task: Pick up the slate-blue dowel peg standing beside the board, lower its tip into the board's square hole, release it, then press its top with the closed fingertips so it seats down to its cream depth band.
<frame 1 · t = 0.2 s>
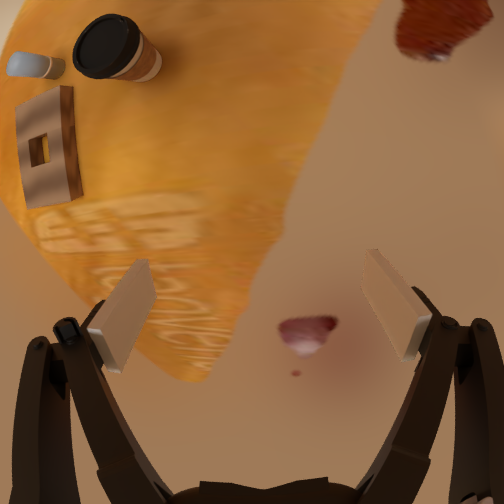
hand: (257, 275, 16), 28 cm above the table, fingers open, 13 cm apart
board: (51, 147, 37), on the table
peg: (57, 69, 31), on the table
coffee cup: (144, 65, 33), on the table
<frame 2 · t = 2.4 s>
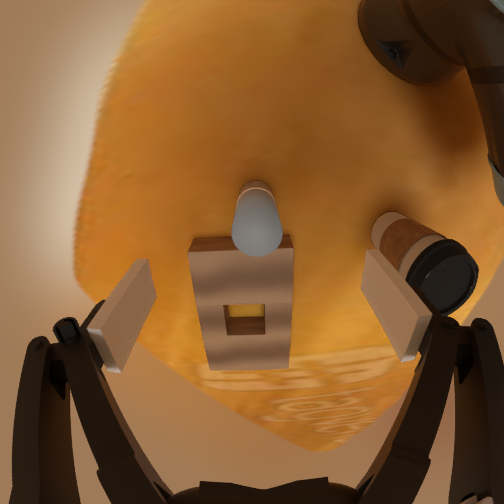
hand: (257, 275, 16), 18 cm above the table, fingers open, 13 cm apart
board: (245, 302, 39), on the table
peg: (255, 196, 33), on the table
coffee cup: (389, 231, 35), on the table
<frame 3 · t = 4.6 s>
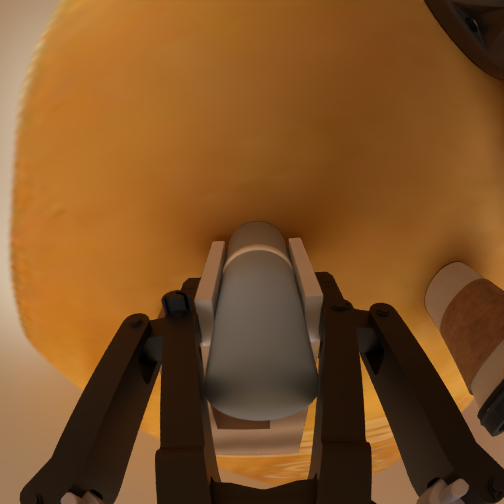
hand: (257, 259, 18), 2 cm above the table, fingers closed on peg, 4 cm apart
board: (242, 385, 26), on the table
peg: (257, 248, 20), on the table, touching gripper
coffee cup: (447, 288, 21), on the table
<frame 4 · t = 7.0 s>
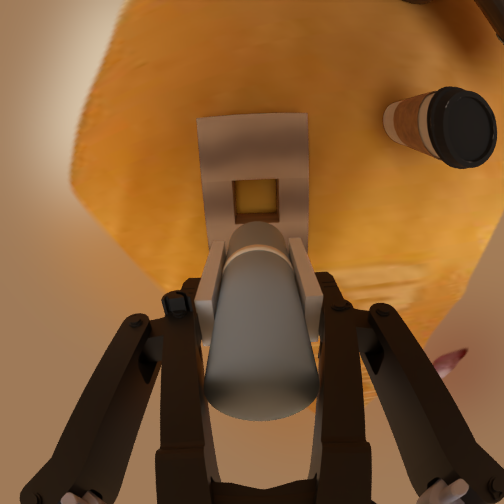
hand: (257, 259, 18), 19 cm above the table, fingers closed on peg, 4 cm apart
board: (255, 193, 35), on the table
peg: (257, 248, 20), point 17 cm above the table, touching gripper
coffee cup: (400, 122, 30), on the table
when the fingers open (5 cm above the table, at t = 9.7 s): peg drops 3 cm, resting in board.
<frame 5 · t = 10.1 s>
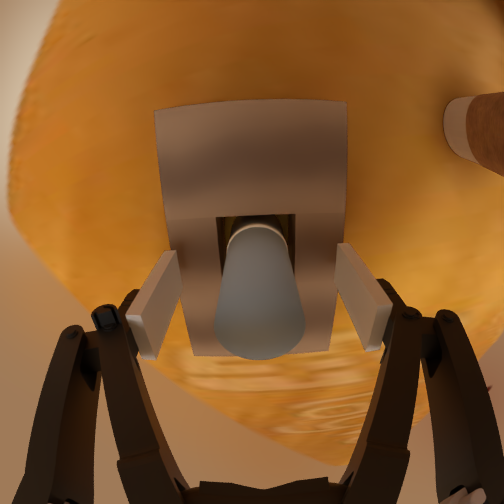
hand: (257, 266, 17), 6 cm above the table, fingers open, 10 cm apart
board: (256, 230, 23), on the table
peg: (256, 230, 23), resting in board
coffee cup: (462, 127, 18), on the table
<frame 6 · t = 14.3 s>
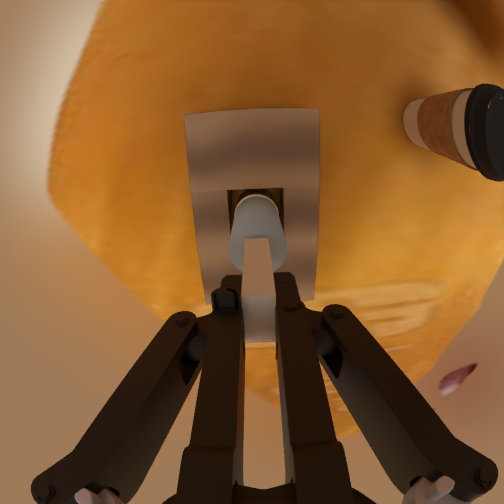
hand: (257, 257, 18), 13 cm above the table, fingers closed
board: (255, 204, 30), on the table
peg: (256, 204, 30), resting in board
coffee cup: (421, 123, 25), on the table
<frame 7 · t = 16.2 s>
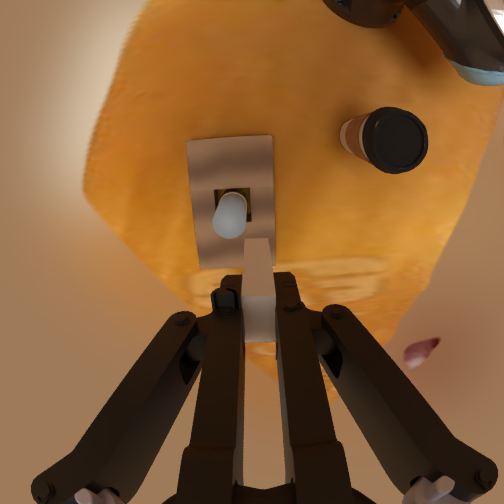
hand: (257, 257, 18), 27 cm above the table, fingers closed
board: (234, 199, 44), on the table
peg: (234, 199, 44), resting in board
coffee cup: (355, 136, 40), on the table
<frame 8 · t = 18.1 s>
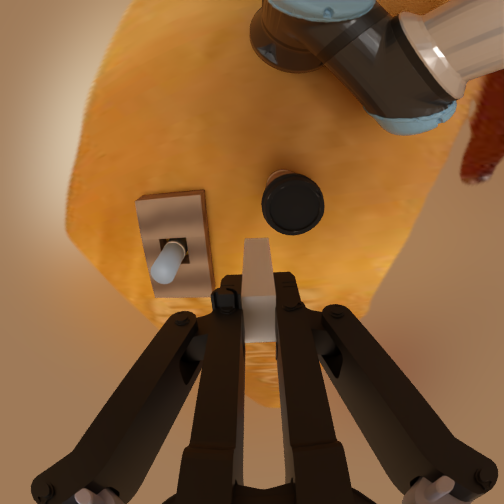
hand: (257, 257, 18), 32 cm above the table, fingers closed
board: (179, 242, 53), on the table
peg: (179, 242, 53), resting in board
coffee cup: (282, 185, 49), on the table
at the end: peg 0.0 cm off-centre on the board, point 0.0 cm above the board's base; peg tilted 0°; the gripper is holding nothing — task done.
